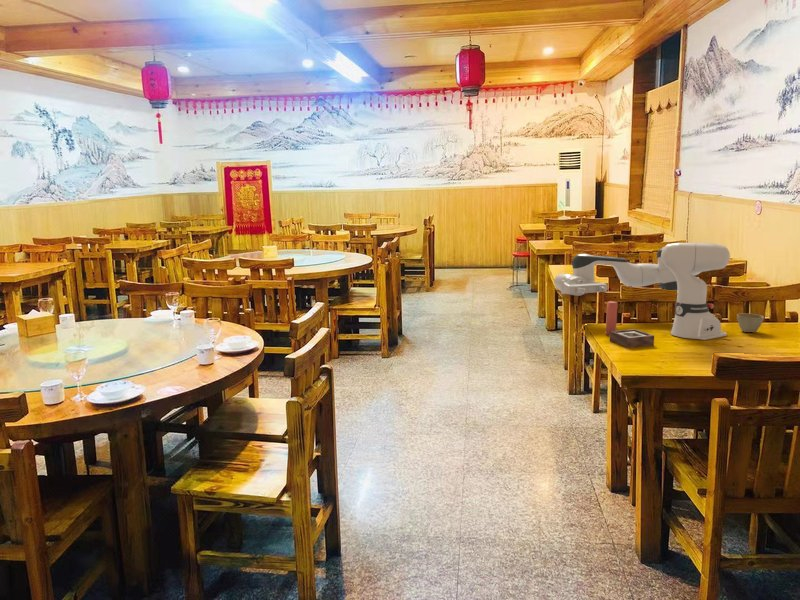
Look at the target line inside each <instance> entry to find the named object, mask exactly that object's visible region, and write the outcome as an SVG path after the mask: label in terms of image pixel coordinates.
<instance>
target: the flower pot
mask: <svg viewBox="0 0 800 600" xmlns="http://www.w3.org/2000/svg"><path fill="white" fill-rule="evenodd" d="M736 319H737V322H738V326H739V328H740V330H741V332H742V331H744V332H743V333H745V332H755V333H757V331H758V330H759V329H760V328H761V325H762V323H763V321H764V319H765V317H764V316H763V315H761V314H756V313H755V314H754V313H748V312H747V313H745V312H744V313H738V314H736Z"/></svg>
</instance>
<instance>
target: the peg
mask: <svg viewBox="0 0 800 600" xmlns="http://www.w3.org/2000/svg"><path fill="white" fill-rule="evenodd" d="M606 303H607V305H606V306H607V307H606V320H605V321H606V324H605V325H606V326H605V335H606V336H609V335H610V331H617V319H618V317H617V316H618V302H617V301H607V302H606Z"/></svg>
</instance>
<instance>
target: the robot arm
mask: <svg viewBox="0 0 800 600" xmlns="http://www.w3.org/2000/svg"><path fill="white" fill-rule="evenodd" d="M656 259H657V263H650V262H649V263H647V262H646V263H633V262H632V263H631V262H629V261H628V259H627V258H623V257H619V256H618V257H617V256H609V255H607V256H606V255H594V254H588V253H578V254H576V255H575V256H574V257H573V258H572V260H571V266H572V272H573V274H570V273H557V275H556V276H555V278H554V281H553V282H554V283H553V284H554V287H555V288H556V289H557V290H559V291H560V294H561V295H571V296H577V297H579V296H583V295H585V294H588V293H589V294H590V293H606V292H607V290H608V284H607V283H605V282H599V281H595V278H596V277H595V265H602V266H603V265H604V266H612V267H613V269H614V271H615V273H616V275H617V277H618V279H619V281H620V282H621V284H623V285H624V286H625V285H626V287H628V286H632V287H631V288H639V287H647V286H650V285H654V284H657V286H656V287H657V288H660V289H661V290H662V289H666V290H677V293H676V295H677V296H676V297H677V298H676V301H675V306H674V310H675V315H674V320H673V325H672V327H671V330H670V334H671V335H672V336H675V337H679V338H682V339H683V338H684V339H693V340H702V341H707V340H712V339H717V338H722V337H726V336H728V335H727V332H726V331H723V330H722V325H721V321H720V320H719V319H718V318H717V316H715V315H714V314H712V312H710V309H711V310H712V309H714V307H715V305H714V304H713V303H707V291H708V285H707V283H706V282H705V281H704V280H703V279H702V278H701V279H700V278H699V277H697V275H699V274H701V273H704V272H709V271H715V270H723V269H724V268H726V267H727V266H728V264H729V262H730V260H731V254H730V250H729V249H728V248H727V247H726V246H725V245H723V244H717V243H711V242H710V243H708V242H707V243H706V242H674V243H668V244H667V243H666V245H664V246H663V247H661V248H660V249H658V250H657V252H656Z"/></svg>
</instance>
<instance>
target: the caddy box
mask: <svg viewBox="0 0 800 600" xmlns="http://www.w3.org/2000/svg"><path fill="white" fill-rule="evenodd" d="M611 341H612V343H614V342H615V343H614V344H616V343H617V345H619V346H621V347H624V346H625V348H626V349H632V348H631V347H633V348H640V347H639V346H643V347H650V345H652V346H654V345H655V335H653V334H651V333H648V332H645V331H642V330H639V329H636V328H633V329H621V330H616V331H610V336H609V342H611Z"/></svg>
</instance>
